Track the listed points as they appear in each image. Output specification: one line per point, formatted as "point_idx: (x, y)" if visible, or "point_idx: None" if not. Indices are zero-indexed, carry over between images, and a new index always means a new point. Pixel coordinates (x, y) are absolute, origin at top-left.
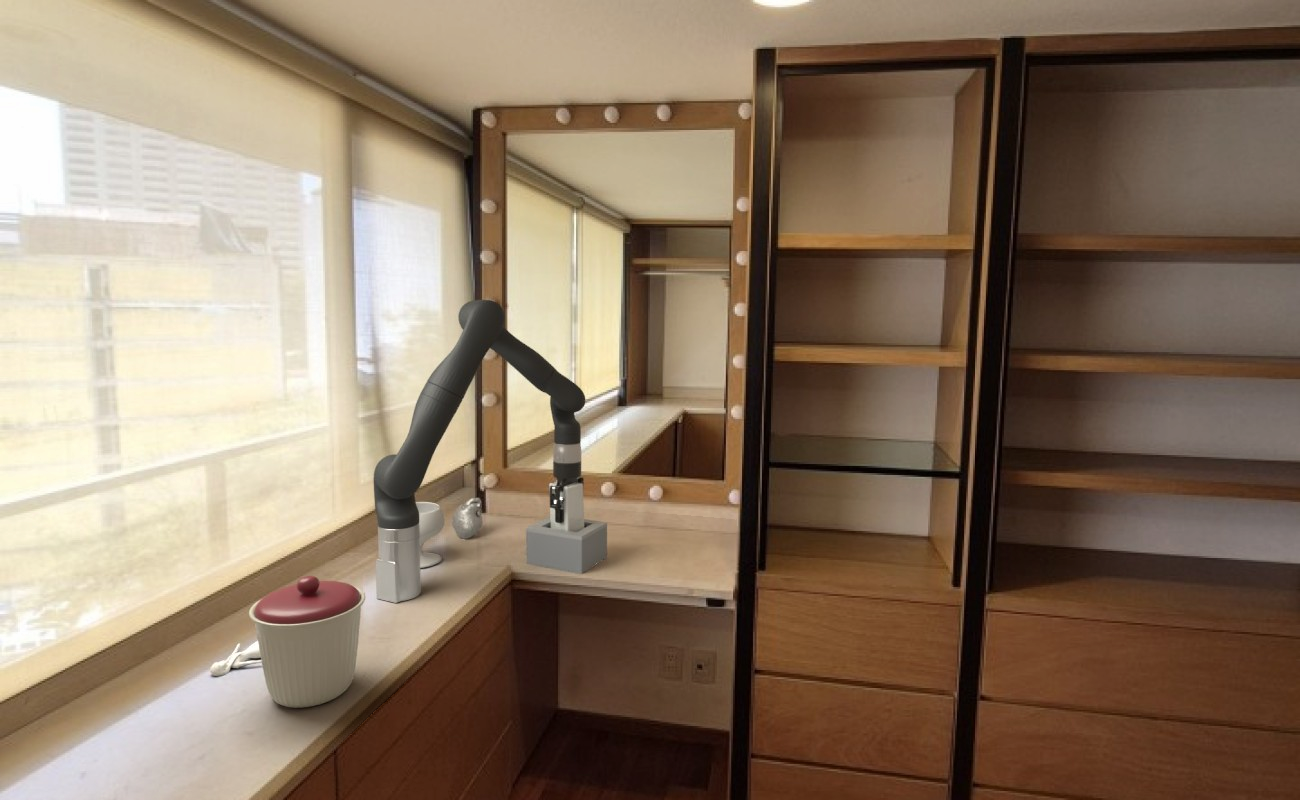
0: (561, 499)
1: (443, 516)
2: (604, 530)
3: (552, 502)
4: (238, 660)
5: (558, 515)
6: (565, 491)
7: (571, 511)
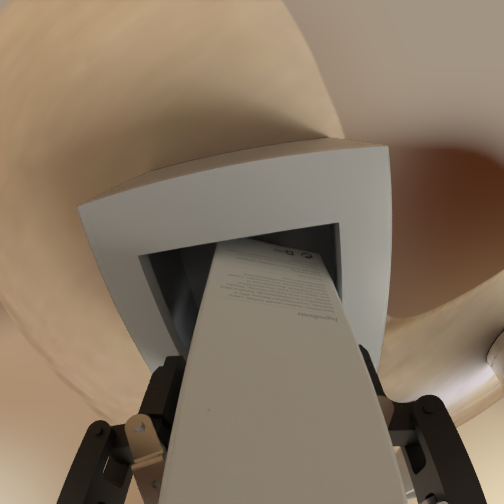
0: None
1: (406, 476)
2: (118, 189)
3: (422, 450)
4: None
5: (374, 375)
6: None
7: (331, 357)
